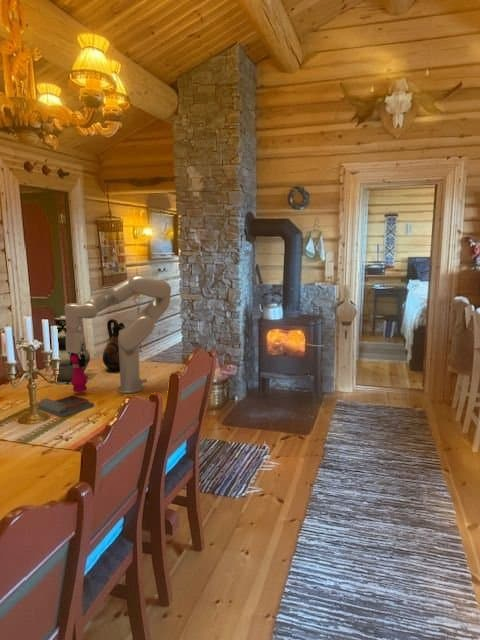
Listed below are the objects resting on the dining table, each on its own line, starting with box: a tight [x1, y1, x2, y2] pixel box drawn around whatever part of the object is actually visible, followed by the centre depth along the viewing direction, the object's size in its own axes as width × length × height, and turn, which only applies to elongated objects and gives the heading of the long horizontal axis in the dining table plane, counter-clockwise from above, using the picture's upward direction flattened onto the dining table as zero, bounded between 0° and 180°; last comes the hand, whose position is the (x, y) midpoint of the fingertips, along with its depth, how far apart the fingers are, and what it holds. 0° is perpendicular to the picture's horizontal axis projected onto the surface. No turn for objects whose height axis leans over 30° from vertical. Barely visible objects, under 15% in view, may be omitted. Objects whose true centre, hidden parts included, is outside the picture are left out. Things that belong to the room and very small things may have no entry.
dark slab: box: [37, 394, 95, 418], centre depth 201 cm, size 16×18×4 cm
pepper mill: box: [71, 354, 88, 393], centre depth 219 cm, size 7×7×20 cm
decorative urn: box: [48, 314, 92, 385], centre depth 244 cm, size 21×21×35 cm
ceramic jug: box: [102, 318, 126, 373], centre depth 262 cm, size 17×15×30 cm
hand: (77, 365), depth 218 cm, fingers closed on pepper mill, 6 cm apart
